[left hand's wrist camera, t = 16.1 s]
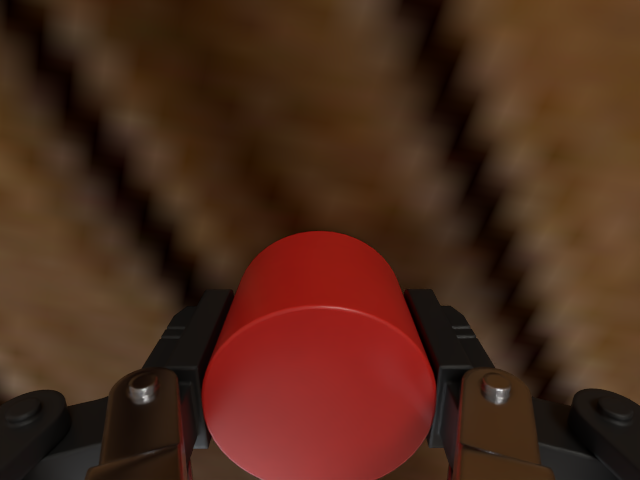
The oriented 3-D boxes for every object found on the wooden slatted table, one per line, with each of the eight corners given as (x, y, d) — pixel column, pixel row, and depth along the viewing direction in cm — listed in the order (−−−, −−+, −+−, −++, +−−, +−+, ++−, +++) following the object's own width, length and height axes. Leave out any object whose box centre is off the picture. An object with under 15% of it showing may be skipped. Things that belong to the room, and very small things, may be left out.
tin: (203, 303, 13) (150, 405, 9) (322, 194, 11) (324, 255, 7) (316, 398, 14) (314, 522, 10) (434, 309, 13) (486, 413, 9)
